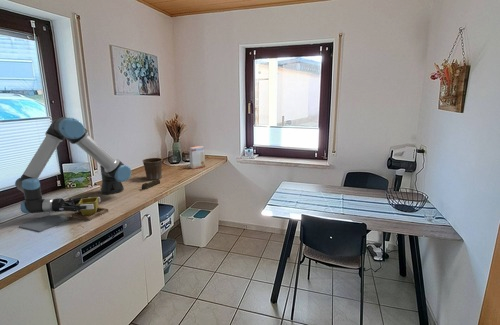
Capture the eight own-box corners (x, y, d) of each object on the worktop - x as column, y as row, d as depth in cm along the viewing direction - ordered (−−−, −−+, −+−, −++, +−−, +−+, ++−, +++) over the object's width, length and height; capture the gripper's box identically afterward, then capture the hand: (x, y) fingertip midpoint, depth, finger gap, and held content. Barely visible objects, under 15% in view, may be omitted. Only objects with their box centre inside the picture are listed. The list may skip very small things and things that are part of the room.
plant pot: (152, 182, 222) (151, 162, 218) (139, 179, 230) (138, 160, 227) (167, 177, 236) (166, 159, 232) (155, 174, 244) (154, 157, 240)
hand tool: (156, 183, 220) (156, 177, 219) (160, 183, 219) (160, 178, 217) (139, 190, 203) (138, 184, 202) (143, 191, 201) (142, 185, 200)
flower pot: (83, 212, 162) (81, 198, 160) (99, 210, 165) (98, 196, 163) (80, 218, 154) (78, 203, 152) (97, 216, 157) (95, 201, 155)
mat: (49, 215, 158) (49, 214, 158) (69, 219, 153) (69, 218, 153) (18, 227, 143) (18, 226, 143) (40, 232, 138) (39, 231, 138)
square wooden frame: (91, 208, 168) (91, 205, 167) (108, 211, 163) (108, 208, 163) (71, 217, 155) (70, 214, 155) (89, 220, 151) (88, 217, 151)
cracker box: (202, 166, 277) (201, 145, 272) (205, 167, 272) (204, 146, 268) (189, 168, 268) (188, 147, 263) (192, 169, 264) (191, 148, 259)
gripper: (64, 203, 166) (103, 201, 170) (44, 219, 144) (90, 217, 148) (62, 192, 165) (102, 190, 169) (42, 206, 143) (88, 204, 147)
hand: (96, 202), depth 159 cm, fingers open, 10 cm apart
